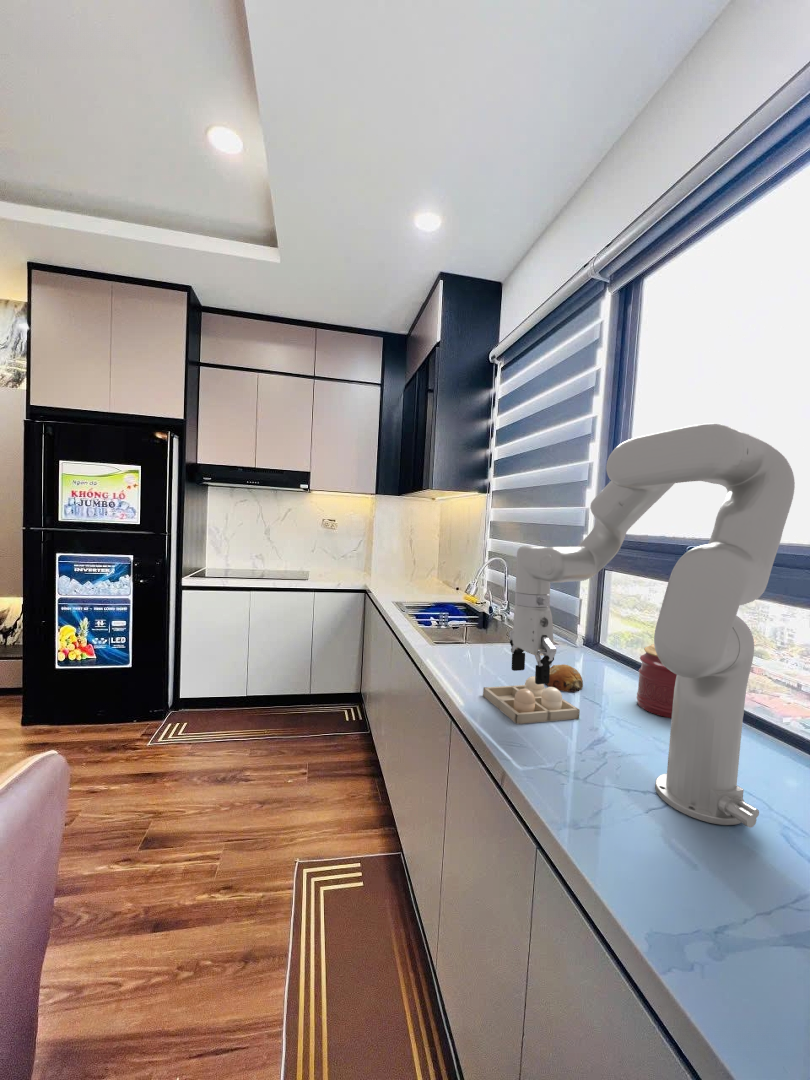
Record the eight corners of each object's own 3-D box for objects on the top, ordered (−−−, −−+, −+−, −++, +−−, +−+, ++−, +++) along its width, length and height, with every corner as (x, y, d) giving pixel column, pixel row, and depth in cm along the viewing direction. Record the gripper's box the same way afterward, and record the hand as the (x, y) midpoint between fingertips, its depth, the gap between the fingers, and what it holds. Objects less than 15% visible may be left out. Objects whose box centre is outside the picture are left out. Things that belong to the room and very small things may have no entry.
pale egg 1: (546, 702, 112) (548, 679, 112) (530, 703, 111) (532, 680, 110) (536, 695, 116) (537, 673, 116) (520, 696, 115) (521, 674, 115)
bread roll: (577, 697, 128) (576, 668, 131) (589, 694, 119) (587, 663, 122) (541, 694, 129) (540, 665, 132) (549, 691, 120) (549, 660, 123)
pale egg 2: (565, 715, 105) (567, 690, 105) (548, 716, 104) (549, 691, 104) (553, 706, 110) (555, 683, 109) (536, 708, 108) (538, 684, 108)
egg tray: (578, 720, 104) (579, 709, 104) (516, 726, 99) (517, 714, 99) (538, 693, 119) (539, 684, 119) (482, 697, 114) (483, 687, 114)
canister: (643, 715, 109) (649, 642, 108) (630, 695, 122) (635, 630, 121) (705, 724, 106) (711, 649, 105) (685, 703, 119) (690, 635, 118)
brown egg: (538, 717, 103) (540, 692, 103) (520, 718, 102) (521, 693, 101) (527, 708, 107) (528, 685, 107) (509, 710, 106) (511, 686, 106)
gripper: (571, 606, 96) (568, 688, 96) (525, 595, 113) (523, 664, 113) (539, 607, 94) (536, 690, 94) (498, 595, 110) (496, 666, 111)
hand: (529, 676), depth 103 cm, fingers open, 9 cm apart
